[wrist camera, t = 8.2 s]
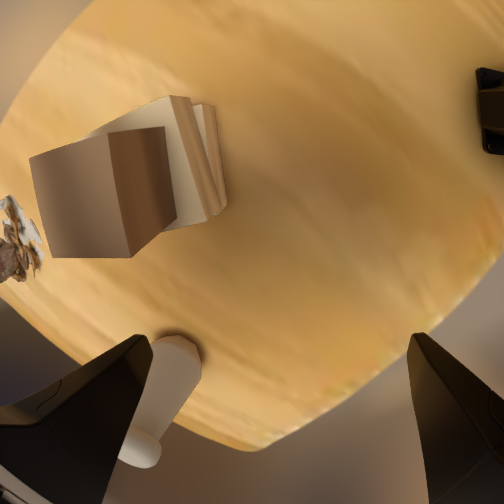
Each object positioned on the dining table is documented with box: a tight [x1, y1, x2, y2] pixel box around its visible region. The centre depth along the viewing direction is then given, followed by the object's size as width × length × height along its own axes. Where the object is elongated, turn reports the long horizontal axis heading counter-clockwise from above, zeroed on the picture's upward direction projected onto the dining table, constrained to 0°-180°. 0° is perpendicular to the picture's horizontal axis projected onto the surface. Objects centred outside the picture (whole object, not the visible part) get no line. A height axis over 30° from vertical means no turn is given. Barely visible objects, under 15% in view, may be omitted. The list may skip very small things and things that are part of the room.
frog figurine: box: [0, 195, 44, 283], centre depth 26 cm, size 12×12×4 cm
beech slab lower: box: [192, 104, 228, 216], centre depth 19 cm, size 7×7×3 cm
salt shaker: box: [118, 335, 202, 468], centre depth 22 cm, size 6×6×13 cm
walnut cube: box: [29, 126, 177, 258], centre depth 13 cm, size 5×5×5 cm
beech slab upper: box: [73, 95, 222, 233], centre depth 17 cm, size 7×7×3 cm
